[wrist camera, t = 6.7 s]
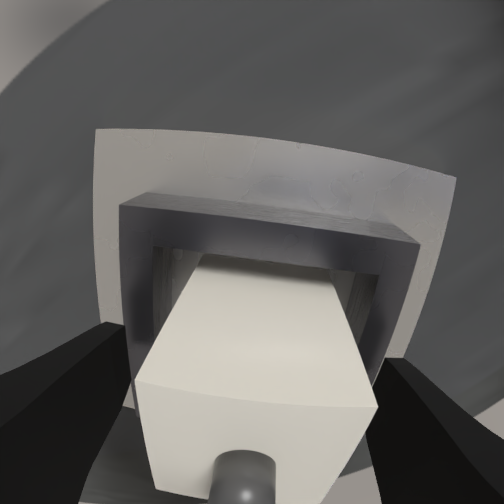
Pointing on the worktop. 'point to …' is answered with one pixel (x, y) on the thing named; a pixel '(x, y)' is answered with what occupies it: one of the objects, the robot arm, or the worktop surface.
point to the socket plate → (262, 228)
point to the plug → (253, 386)
